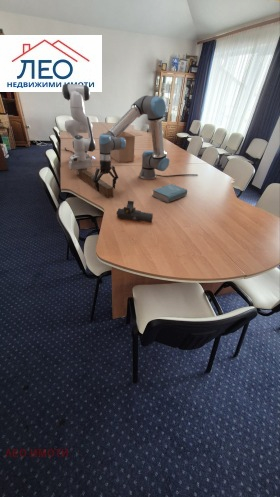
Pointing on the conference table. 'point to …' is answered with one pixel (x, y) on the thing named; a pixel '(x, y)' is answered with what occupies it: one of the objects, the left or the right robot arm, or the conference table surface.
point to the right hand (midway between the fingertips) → (106, 189)
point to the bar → (88, 178)
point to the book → (169, 193)
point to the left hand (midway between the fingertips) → (81, 173)
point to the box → (128, 151)
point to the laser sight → (133, 213)
